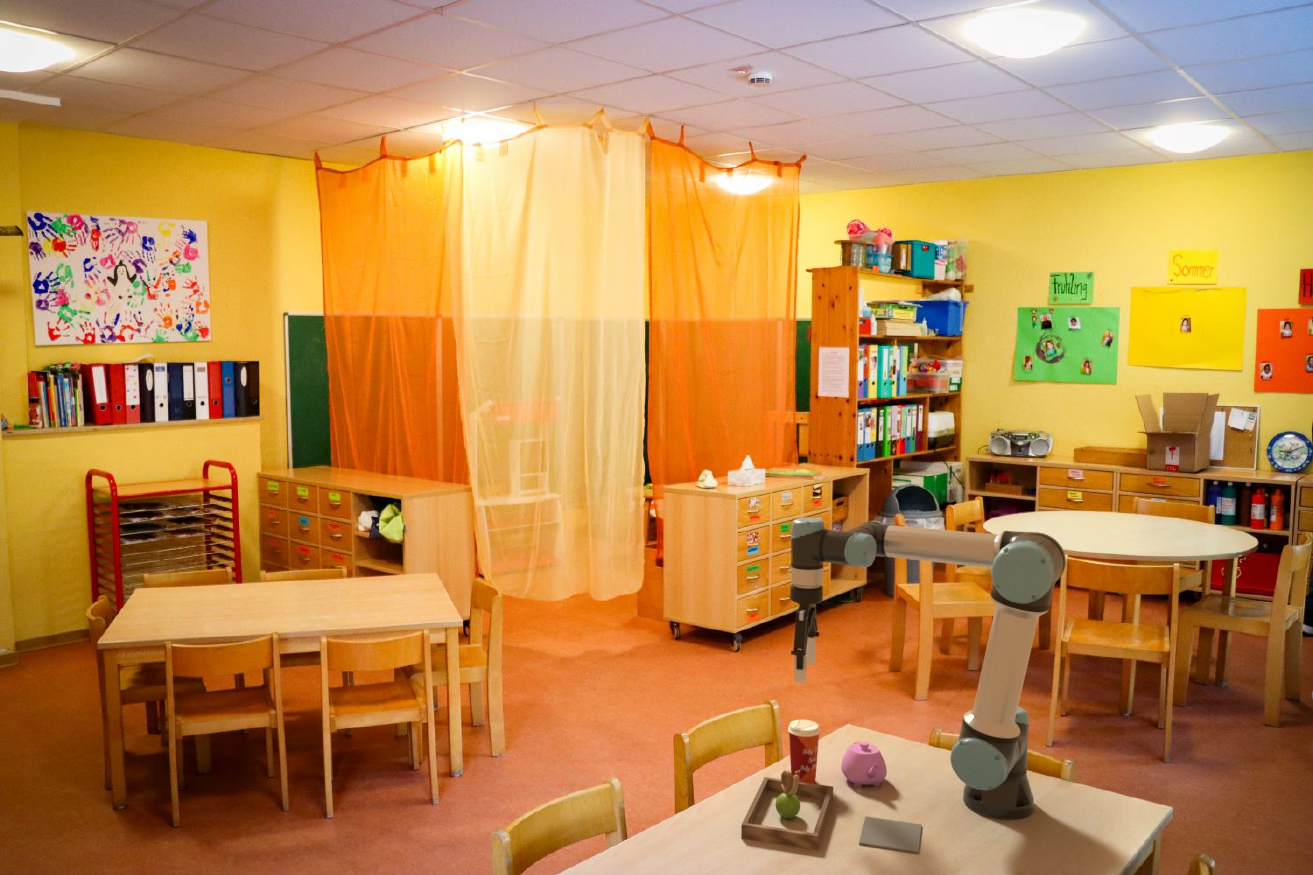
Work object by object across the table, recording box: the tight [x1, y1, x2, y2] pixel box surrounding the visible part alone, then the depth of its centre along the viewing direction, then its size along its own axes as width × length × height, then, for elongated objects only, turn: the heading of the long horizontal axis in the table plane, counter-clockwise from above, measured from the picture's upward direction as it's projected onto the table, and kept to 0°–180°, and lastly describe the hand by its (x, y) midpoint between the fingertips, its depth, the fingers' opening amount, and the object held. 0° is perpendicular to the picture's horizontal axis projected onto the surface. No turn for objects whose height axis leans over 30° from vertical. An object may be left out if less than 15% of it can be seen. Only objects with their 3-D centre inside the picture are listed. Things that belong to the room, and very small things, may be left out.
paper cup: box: [787, 719, 821, 784], centre depth 237 cm, size 8×8×14 cm
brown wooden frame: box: [740, 776, 834, 851], centre depth 220 cm, size 16×24×3 cm, turn 162°
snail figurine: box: [775, 770, 801, 819], centre depth 219 cm, size 5×6×12 cm
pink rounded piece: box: [840, 740, 888, 788], centre depth 237 cm, size 10×15×9 cm
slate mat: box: [858, 816, 922, 854], centre depth 212 cm, size 12×12×1 cm
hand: (805, 672), depth 235 cm, fingers open, 13 cm apart
